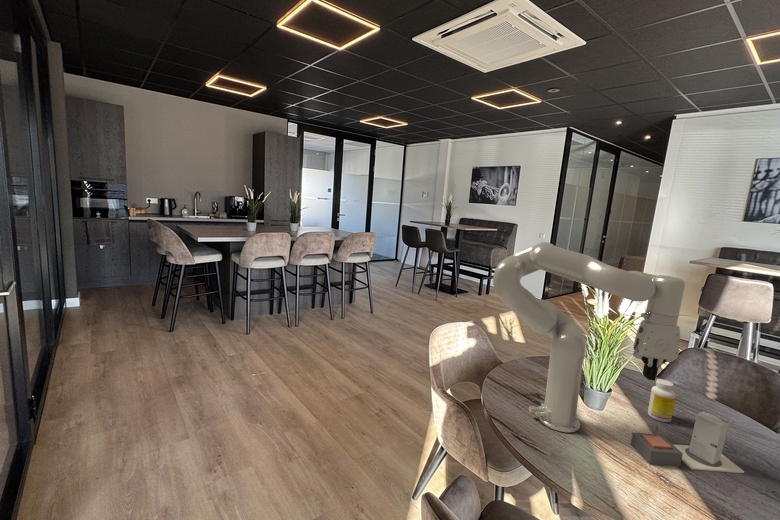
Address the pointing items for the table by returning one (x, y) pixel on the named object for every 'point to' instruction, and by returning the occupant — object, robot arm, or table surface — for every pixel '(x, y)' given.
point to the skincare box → (708, 437)
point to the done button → (656, 442)
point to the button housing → (656, 451)
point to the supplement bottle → (662, 401)
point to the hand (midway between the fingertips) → (648, 377)
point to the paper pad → (701, 464)
